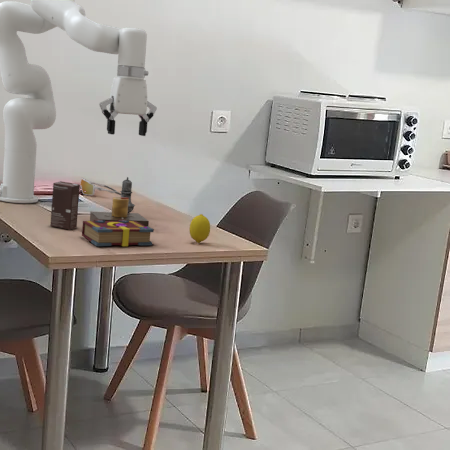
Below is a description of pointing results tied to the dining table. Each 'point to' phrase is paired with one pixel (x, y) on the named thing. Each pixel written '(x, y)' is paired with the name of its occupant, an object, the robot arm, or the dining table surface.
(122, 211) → the lock knob
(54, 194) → the box
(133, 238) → the decorative book
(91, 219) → the lock plate
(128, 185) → the grey textured elongated piece
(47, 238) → the dining table surface
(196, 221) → the lemon
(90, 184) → the sunglasses
